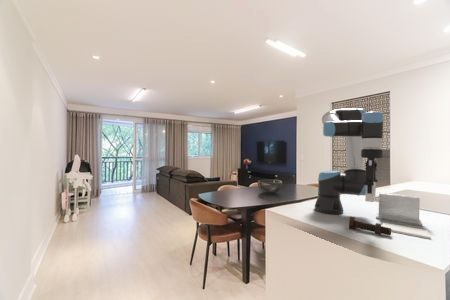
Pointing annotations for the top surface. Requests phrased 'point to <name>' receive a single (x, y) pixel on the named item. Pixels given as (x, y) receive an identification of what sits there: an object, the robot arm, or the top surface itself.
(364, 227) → the bolt
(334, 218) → the top surface
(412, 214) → the block
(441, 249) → the top surface
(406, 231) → the mat
